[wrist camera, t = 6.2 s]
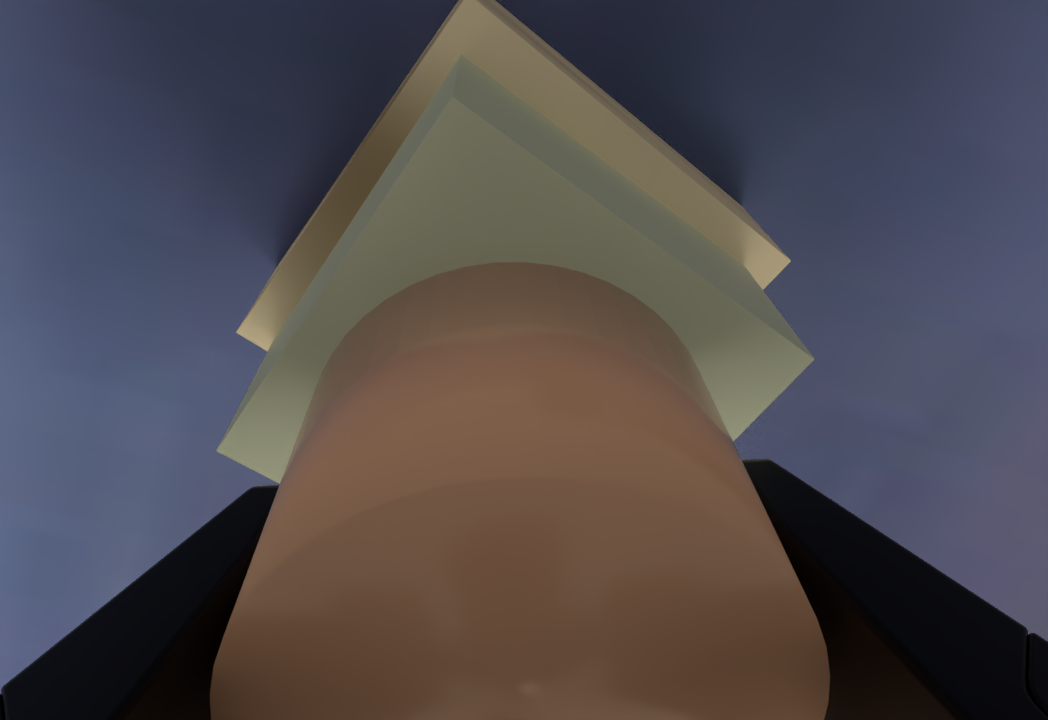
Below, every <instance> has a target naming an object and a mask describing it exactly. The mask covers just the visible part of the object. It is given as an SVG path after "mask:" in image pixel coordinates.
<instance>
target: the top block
mask: <svg viewBox="0 0 1048 720" xmlns="http://www.w3.org/2000/svg"><path fill="white" fill-rule="evenodd" d="M502 262H527V263H536V264H545V265H554V266H558V267H563V268H567V269H571V270H575V271H579V272H583V273H586V274H588V275H591V276H593V277H596V278H599V279H601V280H604V281H607V282H609V283H611V284H613V285H615V286H616V287H618V288H620V289H622V290H624V291H626V292H628V293H629V294H631V295H633V296H634V297H636V298H637V299H638V300H640V301H641V302H643V303H644V304H645V305H647V306H648V307H649V308H651V309H652V310H653V311H655V312H656V313H657V314H658V315H659V316H660V317H661V318H662V319H663V320H664V321H665V322H666V323H667V324H668V325H669V326H670V327H671V328H672V329H673V330H674V332H675V333H676V334H677V336H678V337H679V338H680V340H681V341H682V342H683V344H684V345H685V346H686V347H687V349H688V351H689V353H690V355H691V356H692V358H693V360H694V362H695V364H696V366H697V367H698V369H699V371H700V373H701V376H702V378H703V380H704V382H705V384H706V386H707V388H708V390H709V392H710V394H711V397H712V399H713V401H714V403H715V405H716V407H717V409H718V411H719V413H720V416H721V418H722V420H723V422H724V424H725V426H726V428H727V430H728V432H729V434H730V437H731V439H732V441H734V440H735V439H736V438H737V437H738V436H739V435H740V434H741V433H742V432H743V431H744V430H745V429H746V428H747V427H748V426H749V425H750V424H751V423H752V422H753V421H754V420H755V419H756V418H757V417H758V416H759V415H760V414H761V413H762V412H763V411H764V410H765V409H766V408H767V407H768V406H769V405H770V404H771V403H772V402H773V401H774V400H775V399H776V398H777V397H778V396H779V395H780V394H781V393H782V392H783V391H784V390H785V389H786V388H787V387H788V386H789V385H790V384H791V383H792V382H793V381H794V380H795V379H796V378H797V377H798V376H799V375H800V374H801V373H802V372H803V371H804V370H805V369H806V368H807V367H808V366H809V364H810V363H811V362H812V361H813V360H814V358H813V356H812V355H811V354H810V352H809V351H808V350H807V348H806V347H805V346H804V344H803V343H802V342H801V340H800V339H799V338H798V336H797V335H796V334H795V332H794V331H793V330H792V328H791V327H790V326H789V324H788V323H787V322H786V320H785V319H784V318H783V316H782V315H781V314H780V312H779V311H778V310H777V308H776V307H775V306H774V304H773V303H772V302H771V300H770V299H769V298H768V296H767V295H766V294H765V292H764V291H763V290H762V288H761V287H760V286H759V284H758V283H757V282H756V280H755V279H754V278H753V276H752V275H751V274H750V272H749V271H748V270H747V268H746V267H745V266H744V265H743V264H741V263H740V262H739V261H737V260H736V259H735V258H733V257H732V256H731V255H729V254H728V253H727V252H725V251H724V250H723V249H721V248H720V247H719V246H717V245H716V244H714V243H713V242H712V241H710V240H709V239H708V238H706V237H705V236H704V235H702V234H701V233H700V232H698V231H697V230H696V229H694V228H693V227H692V226H690V225H689V224H688V223H686V222H685V221H684V220H682V219H681V218H680V217H678V216H677V215H676V214H674V213H673V212H672V211H670V210H669V209H668V208H666V207H665V206H664V205H662V204H661V203H660V202H658V201H657V200H656V199H654V198H653V197H652V196H650V195H649V194H648V193H646V192H645V191H644V190H642V189H641V188H640V187H638V186H637V185H635V184H634V183H633V182H631V181H630V180H629V179H627V178H626V177H625V176H623V175H622V174H621V173H619V172H618V171H617V170H615V169H614V168H613V167H611V166H610V165H609V164H607V163H606V162H605V161H603V160H602V159H601V158H599V157H598V156H597V155H595V154H594V153H593V152H591V151H590V150H589V149H587V148H586V147H585V146H583V145H582V144H581V143H579V142H578V141H577V140H575V139H574V138H573V137H571V136H570V135H569V134H567V133H566V132H565V131H563V130H562V129H561V128H559V127H558V126H557V125H555V124H554V123H552V122H551V121H550V120H548V119H547V118H546V117H544V116H543V115H542V114H540V113H539V112H538V111H536V110H535V109H534V108H532V107H531V106H530V105H528V104H527V103H526V102H524V101H523V100H522V99H520V98H519V97H518V96H516V95H515V94H514V93H512V92H511V91H510V90H508V89H507V88H506V87H504V86H503V85H502V84H500V83H499V82H498V81H496V80H495V79H494V78H492V77H491V76H490V75H488V74H487V73H486V72H484V71H483V70H482V69H480V68H479V67H478V66H476V65H475V64H474V63H472V62H471V61H469V60H468V59H467V58H465V57H464V56H463V55H460V57H459V58H458V60H457V61H456V63H455V64H454V66H453V67H452V69H451V70H450V72H449V73H448V75H447V76H446V78H445V79H444V81H443V82H442V84H441V85H440V87H439V89H438V90H437V92H436V93H435V95H434V96H433V98H432V99H431V101H430V102H429V104H428V105H427V107H426V108H425V110H424V111H423V113H422V114H421V116H420V118H419V119H418V121H417V122H416V124H415V125H414V127H413V128H412V130H411V131H410V133H409V134H408V136H407V137H406V139H405V140H404V142H403V143H402V145H401V146H400V148H399V150H398V151H397V153H396V154H395V156H394V157H393V159H392V160H391V162H390V163H389V165H388V166H387V168H386V169H385V171H384V172H383V174H382V175H381V177H380V178H379V180H378V182H377V183H376V185H375V186H374V188H373V189H372V191H371V192H370V194H369V195H368V197H367V198H366V200H365V201H364V203H363V204H362V206H361V207H360V209H359V210H358V212H357V214H356V215H355V217H354V218H353V220H352V221H351V223H350V224H349V226H348V227H347V229H346V230H345V232H344V233H343V235H342V236H341V238H340V239H339V241H338V242H337V244H336V246H335V247H334V249H333V250H332V252H331V253H330V255H329V256H328V258H327V259H326V261H325V262H324V264H323V265H322V267H321V268H320V270H319V271H318V273H317V275H316V276H315V278H314V279H313V281H312V282H311V284H310V285H309V287H308V288H307V290H306V291H305V293H304V294H303V296H302V297H301V299H300V300H299V302H298V303H297V305H296V307H295V308H294V310H293V311H292V313H291V314H290V316H289V317H288V319H287V320H286V322H285V323H284V325H283V326H282V328H281V329H280V331H279V332H278V334H277V335H276V337H275V339H274V340H273V342H272V344H271V346H270V348H269V350H268V351H267V353H266V355H265V357H264V359H263V361H262V363H261V365H260V367H259V369H258V371H257V373H256V375H255V377H254V379H253V381H252V383H251V384H250V386H249V388H248V390H247V392H246V394H245V396H244V398H243V400H242V402H241V404H240V406H239V408H238V410H237V412H236V414H235V415H234V417H233V419H232V421H231V423H230V425H229V427H228V429H227V431H226V433H225V435H224V437H223V439H222V441H221V443H220V445H219V446H218V448H217V450H216V451H217V452H219V453H221V454H223V455H225V456H227V457H229V458H231V459H233V460H234V461H236V462H238V463H240V464H242V465H244V466H246V467H248V468H250V469H252V470H254V471H256V472H258V473H260V474H262V475H264V476H266V477H268V478H269V479H271V480H273V481H275V482H277V483H279V484H280V482H281V480H282V477H283V474H284V472H285V469H286V466H287V463H288V461H289V458H290V455H291V453H292V450H293V447H294V445H295V442H296V439H297V436H298V434H299V431H300V428H301V426H302V423H303V420H304V418H305V415H306V412H307V409H308V407H309V404H310V401H311V399H312V396H313V393H314V391H315V388H316V385H317V382H318V380H319V377H320V375H321V373H322V371H323V369H324V367H325V365H326V363H327V362H328V360H329V358H330V356H331V354H332V353H333V351H334V350H335V349H336V347H337V346H338V345H339V343H340V342H341V341H342V339H343V338H344V337H345V335H346V334H347V333H348V332H349V331H350V330H351V329H352V328H353V327H354V326H355V325H356V324H357V323H358V322H359V321H360V320H361V319H362V318H363V317H364V316H365V315H366V314H367V313H369V312H370V311H371V310H372V309H374V308H375V307H376V306H378V305H379V304H380V303H382V302H383V301H384V300H386V299H387V298H389V297H391V296H392V295H394V294H396V293H398V292H399V291H401V290H403V289H405V288H407V287H408V286H410V285H412V284H415V283H417V282H419V281H422V280H424V279H427V278H429V277H432V276H434V275H437V274H440V273H444V272H447V271H451V270H455V269H459V268H463V267H467V266H474V265H481V264H489V263H502Z"/></svg>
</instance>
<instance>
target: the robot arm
mask: <svg viewBox="0 0 1048 720" xmlns="http://www.w3.org/2000/svg"><path fill="white" fill-rule="evenodd" d="M742 462H743V464H744V466H745V468H746V470H747V472H748V474H749V476H750V479H751V481H752V483H753V485H754V487H755V489H756V491H757V493H758V495H759V498H760V500H761V502H762V504H763V506H764V508H765V510H766V512H767V514H768V516H769V519H770V521H771V523H772V525H773V527H774V529H775V531H776V533H777V535H778V537H779V540H780V542H781V544H782V546H783V548H784V550H785V552H786V554H787V556H788V558H789V561H790V563H791V565H792V567H793V569H794V571H795V573H796V575H797V577H798V580H799V582H800V584H801V586H802V588H803V590H804V592H805V594H806V596H807V598H808V601H809V603H810V605H811V607H812V609H813V611H814V613H815V615H816V617H817V620H818V623H819V626H820V629H821V632H822V635H823V638H824V641H825V644H826V647H827V654H828V662H829V670H830V685H829V700H828V706H827V710H826V714H825V718H824V720H1048V641H1046V640H1044V639H1043V638H1041V637H1040V636H1038V635H1037V634H1035V633H1030V634H1029V635H1028V630H1027V629H1026V627H1024V626H1023V625H1021V624H1020V623H1018V622H1017V621H1015V620H1014V619H1012V618H1011V617H1009V616H1008V615H1006V614H1004V613H1003V612H1001V611H1000V610H998V609H997V608H995V607H994V606H992V605H991V604H989V603H988V602H986V601H985V600H983V599H982V598H980V597H979V596H977V595H976V594H974V593H972V592H971V591H969V590H968V589H966V588H965V587H963V586H962V585H960V584H959V583H957V582H956V581H954V580H953V579H951V578H950V577H948V576H947V575H945V574H944V573H942V572H941V571H939V570H937V569H936V568H934V567H933V566H931V565H930V564H928V563H927V562H925V561H924V560H922V559H921V558H919V557H918V556H916V555H915V554H913V553H912V552H910V551H909V550H907V549H906V548H904V547H902V546H901V545H899V544H898V543H896V542H895V541H893V540H892V539H890V538H889V537H887V536H886V535H884V534H883V533H881V532H880V531H878V530H877V529H875V528H874V527H872V526H871V525H869V524H867V523H866V522H864V521H863V520H861V519H860V518H858V517H857V516H855V515H854V514H852V513H851V512H849V511H848V510H846V509H845V508H843V507H842V506H840V505H839V504H837V503H836V502H834V501H832V500H831V499H829V498H828V497H826V496H825V495H823V494H822V493H820V492H819V491H817V490H816V489H814V488H813V487H811V486H810V485H808V484H807V483H805V482H804V481H802V480H800V479H799V478H797V477H796V476H794V475H793V474H791V473H790V472H788V471H787V470H785V469H784V468H782V467H781V466H779V465H778V464H776V463H775V462H773V461H771V460H768V459H754V460H742ZM278 488H279V485H270V486H255V487H252V488H250V489H249V490H247V491H246V492H245V493H244V494H242V495H241V496H240V497H239V498H237V499H236V500H235V501H234V502H232V503H231V504H230V505H229V506H227V507H226V508H225V509H224V510H222V511H221V512H220V513H219V514H217V515H216V516H215V517H214V518H212V519H211V520H210V521H209V522H207V523H206V524H205V525H204V526H202V527H201V528H200V529H199V530H197V531H196V532H195V533H194V534H192V535H191V536H190V537H189V538H187V539H186V540H185V541H184V542H182V543H181V544H180V545H179V546H177V547H176V548H175V549H174V550H172V551H171V552H170V553H169V554H167V555H166V556H165V557H164V558H162V559H161V560H160V561H159V562H158V563H156V564H155V565H154V566H153V567H151V568H150V569H149V570H148V571H146V572H145V573H144V574H143V575H141V576H140V577H139V578H138V579H136V580H135V581H134V582H133V583H131V584H130V585H129V586H128V587H126V588H125V589H124V590H123V591H121V592H120V593H119V594H118V595H116V596H115V597H114V598H113V599H111V600H110V601H109V602H108V603H106V604H105V605H104V606H103V607H101V608H100V609H99V610H98V611H96V612H95V613H94V614H93V615H91V616H90V617H89V618H88V619H86V620H85V621H84V622H83V623H81V624H80V625H79V626H78V627H76V628H75V629H74V630H73V631H71V632H70V633H69V634H68V635H66V636H65V637H64V638H63V639H61V640H60V641H59V642H58V643H56V644H55V645H54V646H53V647H51V648H50V649H49V650H48V651H46V652H45V653H44V654H43V655H41V656H40V657H39V658H38V659H36V660H35V661H34V662H33V663H31V664H30V665H29V666H28V667H26V668H25V669H24V670H23V671H21V672H20V673H19V674H18V675H16V676H15V677H14V678H13V679H11V680H10V681H9V682H8V683H6V684H5V685H4V686H3V687H2V689H1V694H0V720H211V708H210V688H211V681H212V673H213V666H214V663H215V660H216V657H217V654H218V651H219V648H220V645H221V642H222V639H223V636H224V633H225V631H226V628H227V625H228V623H229V620H230V617H231V615H232V612H233V609H234V606H235V604H236V601H237V598H238V596H239V593H240V590H241V588H242V585H243V582H244V579H245V577H246V574H247V571H248V569H249V566H250V563H251V561H252V558H253V555H254V552H255V550H256V547H257V544H258V542H259V539H260V536H261V534H262V531H263V528H264V525H265V523H266V520H267V517H268V515H269V512H270V509H271V507H272V504H273V501H274V498H275V496H276V493H277V490H278Z"/></svg>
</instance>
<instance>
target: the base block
mask: <svg viewBox="0 0 1048 720" xmlns="http://www.w3.org/2000/svg"><path fill="white" fill-rule="evenodd" d="M460 55H463V56H464V57H465V58H467V59H468V60H469V61H471V62H472V63H474V64H475V65H476V66H478V67H479V68H480V69H482V70H483V71H484V72H486V73H487V74H488V75H490V76H491V77H492V78H494V79H495V80H496V81H498V82H499V83H500V84H502V85H503V86H504V87H506V88H507V89H508V90H510V91H511V92H512V93H514V94H515V95H516V96H518V97H519V98H520V99H522V100H523V101H524V102H526V103H527V104H528V105H530V106H531V107H532V108H534V109H535V110H536V111H538V112H539V113H540V114H542V115H543V116H544V117H546V118H547V119H548V120H550V121H551V122H552V123H554V124H555V125H557V126H558V127H559V128H561V129H562V130H563V131H565V132H566V133H567V134H569V135H570V136H571V137H573V138H574V139H575V140H577V141H578V142H579V143H581V144H582V145H583V146H585V147H586V148H587V149H589V150H590V151H591V152H593V153H594V154H595V155H597V156H598V157H599V158H601V159H602V160H603V161H605V162H606V163H607V164H609V165H610V166H611V167H613V168H614V169H615V170H617V171H618V172H619V173H621V174H622V175H623V176H625V177H626V178H627V179H629V180H630V181H631V182H633V183H634V184H635V185H637V186H638V187H640V188H641V189H642V190H644V191H645V192H646V193H648V194H649V195H650V196H652V197H653V198H654V199H656V200H657V201H658V202H660V203H661V204H662V205H664V206H665V207H666V208H668V209H669V210H670V211H672V212H673V213H674V214H676V215H677V216H678V217H680V218H681V219H682V220H684V221H685V222H686V223H688V224H689V225H690V226H692V227H693V228H694V229H696V230H697V231H698V232H700V233H701V234H702V235H704V236H705V237H706V238H708V239H709V240H710V241H712V242H713V243H714V244H716V245H717V246H719V247H720V248H721V249H723V250H724V251H725V252H727V253H728V254H729V255H731V256H732V257H733V258H735V259H736V260H737V261H739V262H740V263H741V264H743V265H744V266H745V267H746V268H747V270H748V271H749V272H750V274H751V275H752V276H753V278H754V279H755V280H756V282H757V283H758V284H759V286H760V287H761V288H762V290H764V288H765V287H766V286H767V285H768V284H769V283H770V282H771V281H772V280H773V279H774V278H775V277H776V276H777V275H778V274H779V273H780V272H781V271H782V270H783V269H784V268H785V267H786V266H787V265H788V264H789V263H790V262H791V260H790V259H789V258H788V257H787V256H786V255H785V254H784V252H783V251H782V250H781V249H780V248H779V247H778V246H777V245H776V244H775V242H774V241H773V240H772V239H771V238H770V237H769V236H768V235H767V234H766V232H765V231H764V230H763V229H762V228H761V227H760V226H759V225H758V224H757V222H756V221H755V220H754V219H753V218H752V217H751V216H750V215H749V214H748V212H747V211H746V210H745V209H744V208H743V207H742V206H741V205H740V204H739V203H738V202H736V201H735V200H734V199H733V198H732V197H730V196H729V195H728V194H727V193H726V192H724V191H723V190H722V189H721V188H720V187H718V186H717V185H716V184H715V183H714V182H712V181H711V180H710V179H709V178H708V177H706V176H705V175H704V174H703V173H702V172H700V171H699V170H698V169H697V168H696V167H694V166H693V165H692V164H691V163H690V162H688V161H687V160H686V159H685V158H684V157H682V156H681V155H680V154H679V153H678V152H676V151H675V150H674V149H673V148H672V147H670V146H669V145H668V144H667V143H666V142H664V141H663V140H662V139H661V138H660V137H658V136H657V135H656V134H655V133H654V132H652V131H651V130H650V129H649V128H648V127H647V126H645V125H644V124H643V123H642V122H641V121H639V120H638V119H637V118H636V117H635V116H633V115H632V114H631V113H630V112H629V111H627V110H626V109H625V108H624V107H623V106H621V105H620V104H619V103H618V102H617V101H615V100H614V99H613V98H612V97H611V96H609V95H608V94H607V93H606V92H605V91H603V90H602V89H601V88H600V87H599V86H597V85H596V84H595V83H594V82H593V81H591V80H590V79H589V78H588V77H587V76H585V75H584V74H583V73H582V72H581V71H579V70H578V69H577V68H576V67H575V66H573V65H572V64H571V63H570V62H569V61H567V60H566V59H565V58H564V57H563V56H562V55H560V54H559V53H558V52H557V51H556V50H554V49H553V48H552V47H551V46H550V45H548V44H547V43H546V42H545V41H544V40H542V39H541V38H540V37H539V36H538V35H536V34H535V33H534V32H533V31H532V30H530V29H529V28H528V27H527V26H526V25H524V24H523V23H522V22H521V21H520V20H518V19H517V18H516V17H515V16H514V15H512V14H511V13H510V12H509V11H508V10H506V9H505V8H504V7H503V6H502V5H500V4H499V3H498V2H497V1H496V0H458V2H457V3H456V5H455V6H454V8H453V9H452V11H451V12H450V14H449V15H448V17H447V18H446V19H445V21H444V22H443V24H442V25H441V27H440V28H439V30H438V31H437V33H436V34H435V36H434V37H433V38H432V40H431V41H430V43H429V44H428V46H427V47H426V49H425V50H424V52H423V53H422V55H421V56H420V58H419V59H418V60H417V62H416V63H415V65H414V66H413V68H412V69H411V71H410V72H409V74H408V75H407V77H406V78H405V80H404V81H403V82H402V84H401V85H400V87H399V88H398V90H397V91H396V93H395V94H394V96H393V97H392V99H391V100H390V101H389V103H388V104H387V106H386V107H385V109H384V110H383V112H382V113H381V115H380V116H379V118H378V119H377V121H376V122H375V123H374V125H373V126H372V128H371V129H370V131H369V132H368V134H367V135H366V137H365V138H364V140H363V141H362V142H361V144H360V145H359V147H358V148H357V150H356V151H355V153H354V154H353V156H352V157H351V159H350V160H349V162H348V163H347V164H346V166H345V167H344V169H343V170H342V172H341V173H340V175H339V176H338V178H337V179H336V181H335V182H334V183H333V185H332V186H331V188H330V189H329V191H328V192H327V194H326V195H325V197H324V198H323V200H322V201H321V203H320V204H319V205H318V207H317V208H316V210H315V211H314V213H313V214H312V216H311V217H310V219H309V220H308V222H307V223H306V225H305V226H304V227H303V229H302V230H301V232H300V233H299V235H298V236H297V238H296V239H295V241H294V242H293V244H292V245H291V246H290V248H289V249H288V251H287V252H286V254H285V255H284V257H283V258H282V260H281V261H280V263H279V264H278V266H277V267H276V269H275V270H274V272H273V273H272V275H271V277H270V278H269V280H268V282H267V283H266V285H265V286H264V288H263V290H262V291H261V293H260V294H259V296H258V298H257V299H256V301H255V303H254V304H253V306H252V307H251V309H250V311H249V312H248V314H247V316H246V317H245V319H244V320H243V322H242V324H241V325H240V327H239V328H238V330H237V332H236V333H238V334H239V335H241V336H243V337H244V338H246V339H248V340H249V341H251V342H253V343H254V344H256V345H258V346H259V347H261V348H263V349H264V350H266V351H268V350H269V348H270V346H271V344H272V342H273V340H274V339H275V337H276V335H277V334H278V332H279V331H280V329H281V328H282V326H283V325H284V323H285V322H286V320H287V319H288V317H289V316H290V314H291V313H292V311H293V310H294V308H295V307H296V305H297V303H298V302H299V300H300V299H301V297H302V296H303V294H304V293H305V291H306V290H307V288H308V287H309V285H310V284H311V282H312V281H313V279H314V278H315V276H316V275H317V273H318V271H319V270H320V268H321V267H322V265H323V264H324V262H325V261H326V259H327V258H328V256H329V255H330V253H331V252H332V250H333V249H334V247H335V246H336V244H337V242H338V241H339V239H340V238H341V236H342V235H343V233H344V232H345V230H346V229H347V227H348V226H349V224H350V223H351V221H352V220H353V218H354V217H355V215H356V214H357V212H358V210H359V209H360V207H361V206H362V204H363V203H364V201H365V200H366V198H367V197H368V195H369V194H370V192H371V191H372V189H373V188H374V186H375V185H376V183H377V182H378V180H379V178H380V177H381V175H382V174H383V172H384V171H385V169H386V168H387V166H388V165H389V163H390V162H391V160H392V159H393V157H394V156H395V154H396V153H397V151H398V150H399V148H400V146H401V145H402V143H403V142H404V140H405V139H406V137H407V136H408V134H409V133H410V131H411V130H412V128H413V127H414V125H415V124H416V122H417V121H418V119H419V118H420V116H421V114H422V113H423V111H424V110H425V108H426V107H427V105H428V104H429V102H430V101H431V99H432V98H433V96H434V95H435V93H436V92H437V90H438V89H439V87H440V85H441V84H442V82H443V81H444V79H445V78H446V76H447V75H448V73H449V72H450V70H451V69H452V67H453V66H454V64H455V63H456V61H457V60H458V58H459V57H460Z"/></svg>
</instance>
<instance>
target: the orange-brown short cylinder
mask: <svg viewBox="0 0 1048 720" xmlns="http://www.w3.org/2000/svg"><path fill="white" fill-rule="evenodd" d="M829 685H830V670H829V662H828V654H827V647H826V644H825V641H824V638H823V635H822V632H821V629H820V626H819V623H818V620H817V617H816V615H815V613H814V611H813V609H812V607H811V605H810V603H809V601H808V598H807V596H806V594H805V592H804V590H803V588H802V586H801V584H800V582H799V580H798V577H797V575H796V573H795V571H794V569H793V567H792V565H791V563H790V561H789V558H788V556H787V554H786V552H785V550H784V548H783V546H782V544H781V542H780V540H779V537H778V535H777V533H776V531H775V529H774V527H773V525H772V523H771V521H770V519H769V516H768V514H767V512H766V510H765V508H764V506H763V504H762V502H761V500H760V498H759V495H758V493H757V491H756V489H755V487H754V485H753V483H752V481H751V479H750V476H749V474H748V472H747V470H746V468H745V466H744V464H743V462H742V460H741V458H740V455H739V453H738V451H737V449H736V447H735V445H734V443H733V441H732V439H731V437H730V434H729V432H728V430H727V428H726V426H725V424H724V422H723V420H722V418H721V416H720V413H719V411H718V409H717V407H716V405H715V403H714V401H713V399H712V397H711V394H710V392H709V390H708V388H707V386H706V384H705V382H704V380H703V378H702V376H701V373H700V371H699V369H698V367H697V366H696V364H695V362H694V360H693V358H692V356H691V355H690V353H689V351H688V349H687V347H686V346H685V345H684V344H683V342H682V341H681V340H680V338H679V337H678V336H677V334H676V333H675V332H674V330H673V329H672V328H671V327H670V326H669V325H668V324H667V323H666V322H665V321H664V320H663V319H662V318H661V317H660V316H659V315H658V314H657V313H656V312H655V311H653V310H652V309H651V308H649V307H648V306H647V305H645V304H644V303H643V302H641V301H640V300H638V299H637V298H636V297H634V296H633V295H631V294H629V293H628V292H626V291H624V290H622V289H620V288H618V287H616V286H615V285H613V284H611V283H609V282H607V281H604V280H601V279H599V278H596V277H593V276H591V275H588V274H586V273H583V272H579V271H575V270H571V269H567V268H563V267H558V266H554V265H545V264H536V263H527V262H502V263H489V264H481V265H474V266H467V267H463V268H459V269H455V270H451V271H447V272H444V273H440V274H437V275H434V276H432V277H429V278H427V279H424V280H422V281H419V282H417V283H415V284H412V285H410V286H408V287H407V288H405V289H403V290H401V291H399V292H398V293H396V294H394V295H392V296H391V297H389V298H387V299H386V300H384V301H383V302H382V303H380V304H379V305H378V306H376V307H375V308H374V309H372V310H371V311H370V312H369V313H367V314H366V315H365V316H364V317H363V318H362V319H361V320H360V321H359V322H358V323H357V324H356V325H355V326H354V327H353V328H352V329H351V330H350V331H349V332H348V333H347V334H346V335H345V337H344V338H343V339H342V341H341V342H340V343H339V345H338V346H337V347H336V349H335V350H334V351H333V353H332V354H331V356H330V358H329V360H328V362H327V363H326V365H325V367H324V369H323V371H322V373H321V375H320V377H319V380H318V382H317V385H316V388H315V391H314V393H313V396H312V399H311V401H310V404H309V407H308V409H307V412H306V415H305V418H304V420H303V423H302V426H301V428H300V431H299V434H298V436H297V439H296V442H295V445H294V447H293V450H292V453H291V455H290V458H289V461H288V463H287V466H286V469H285V472H284V474H283V477H282V480H281V482H280V485H279V488H278V490H277V493H276V496H275V498H274V501H273V504H272V507H271V509H270V512H269V515H268V517H267V520H266V523H265V525H264V528H263V531H262V534H261V536H260V539H259V542H258V544H257V547H256V550H255V552H254V555H253V558H252V561H251V563H250V566H249V569H248V571H247V574H246V577H245V579H244V582H243V585H242V588H241V590H240V593H239V596H238V598H237V601H236V604H235V606H234V609H233V612H232V615H231V617H230V620H229V623H228V625H227V628H226V631H225V633H224V636H223V639H222V642H221V645H220V648H219V651H218V654H217V657H216V660H215V663H214V666H213V673H212V681H211V688H210V708H211V720H824V718H825V714H826V710H827V706H828V700H829Z"/></svg>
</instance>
